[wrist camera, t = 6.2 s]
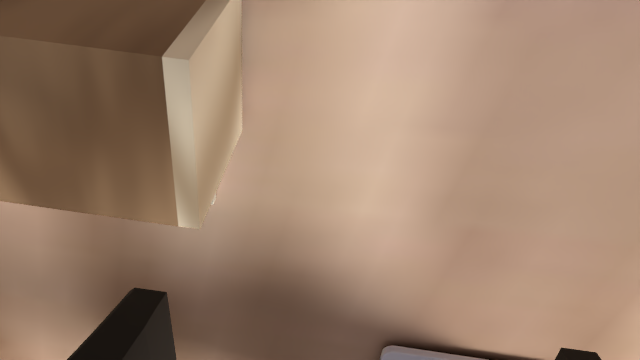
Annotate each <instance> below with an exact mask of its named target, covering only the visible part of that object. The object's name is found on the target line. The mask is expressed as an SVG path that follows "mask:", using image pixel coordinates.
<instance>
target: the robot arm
mask: <svg viewBox="0 0 640 360" xmlns="http://www.w3.org/2000/svg"><path fill="white" fill-rule="evenodd" d="M67 360H176V353H175V346H174V339H173V332H172V325H171V319H170V312H169V305H168V298H167V292H161V291H154V290H147V289H140V288H134V289H132V290H131V291H129V293H128V294H127V295H126V296H125V297H124V298H123V299H122V301H121V302H120V303H119V304H118V305H117V306H116V307H115V308H114V310H113V311H112V312H111V313H110V314H109V315H108V316H107V317H106V318H105V320H104V321H103V322H102V323H101V324H100V325H99V326H98V327H97V328H96V329H95V330H94V332H93V333H92V334H91V335H90V336H89V337H88V338H87V339H86V340H85V341H84V342H83V343H82V344H81V345H80V347H79V348H78V349H77V350H76V351H75V352H74V353H73V354H72V355H71V356H70V357H69V358H68V359H67ZM380 360H487V359H481V358H474V357H467V356H461V355H454V354H447V353H441V352H434V351H428V350H421V349H414V348H408V347H401V346H393V345H390V346H387V347H385V348H383V350H382V353H381V357H380ZM555 360H601V358H600V357H599V356H598V354H597V353H596V352H589V351H581V350H574V349H567V348H561V349H560V351H559V353H558V355H557V357H556V359H555Z"/></svg>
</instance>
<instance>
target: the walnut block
mask: <svg viewBox="0 0 640 360" xmlns="http://www.w3.org/2000/svg"><path fill="white" fill-rule="evenodd" d="M241 132H242V0H0V201H4V202H11V203H18V204H25V205H32V206H39V207H46V208H53V209H60V210H67V211H74V212H81V213H88V214H95V215H102V216H109V217H116V218H123V219H130V220H137V221H144V222H151V223H158V224H165V225H172V226H179V227H186V228H193V229H201V226H202V224H203V222H204V219H205V217H206V215H207V212H208V210H209V208H210V205H211V203H212V201H213V198H214V196H215V193H216V191H217V189H218V186H219V184H220V182H221V179H222V177H223V175H224V172H225V170H226V168H227V165H228V163H229V161H230V158H231V156H232V153H233V151H234V149H235V146H236V144H237V142H238V139H239V137H240V135H241Z"/></svg>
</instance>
